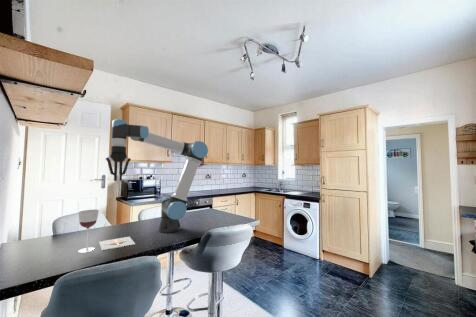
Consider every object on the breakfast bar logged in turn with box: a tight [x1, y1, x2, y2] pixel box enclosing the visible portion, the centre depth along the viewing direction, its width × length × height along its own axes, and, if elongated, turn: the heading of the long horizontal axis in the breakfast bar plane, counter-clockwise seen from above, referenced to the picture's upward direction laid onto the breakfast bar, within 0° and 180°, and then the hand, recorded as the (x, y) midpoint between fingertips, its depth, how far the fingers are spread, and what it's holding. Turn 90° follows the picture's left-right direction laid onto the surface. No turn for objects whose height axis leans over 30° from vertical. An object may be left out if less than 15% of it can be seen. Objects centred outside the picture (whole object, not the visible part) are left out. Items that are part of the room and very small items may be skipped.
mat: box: [98, 236, 136, 252], centre depth 121 cm, size 16×16×1 cm
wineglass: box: [77, 209, 99, 254], centre depth 111 cm, size 8×9×20 cm
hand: (117, 186), depth 123 cm, fingers closed
